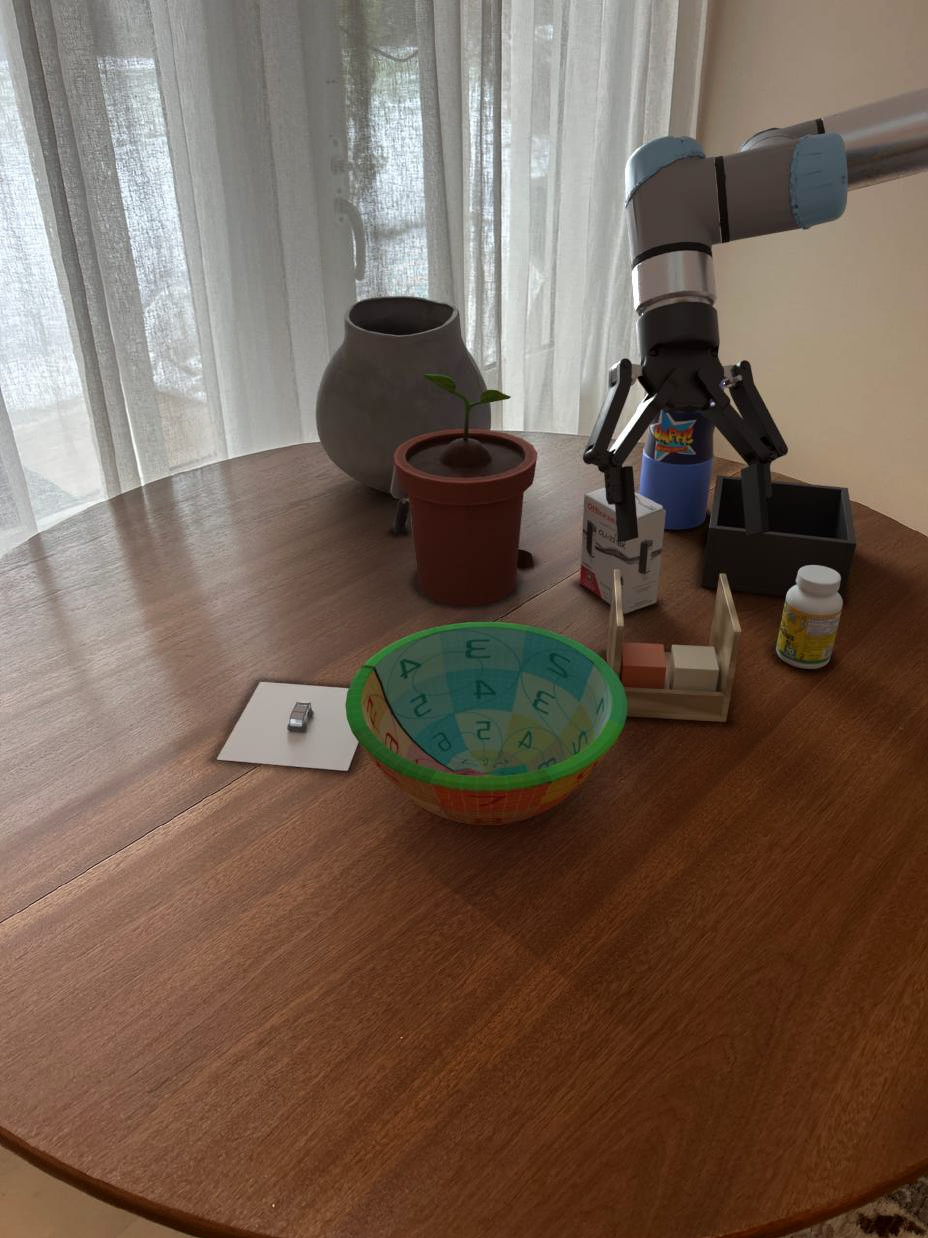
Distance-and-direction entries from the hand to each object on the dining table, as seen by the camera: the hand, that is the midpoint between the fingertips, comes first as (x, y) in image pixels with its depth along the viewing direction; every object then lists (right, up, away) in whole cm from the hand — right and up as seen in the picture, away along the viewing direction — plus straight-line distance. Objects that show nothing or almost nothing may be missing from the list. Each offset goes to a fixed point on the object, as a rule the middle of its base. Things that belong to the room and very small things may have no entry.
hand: (694, 537), depth 87 cm
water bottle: (+6, +6, +38) cm, 39 cm away
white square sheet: (-37, -18, 0) cm, 41 cm away
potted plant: (-22, -2, +26) cm, 34 cm away
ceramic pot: (-30, +12, +48) cm, 58 cm away
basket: (+16, -1, +26) cm, 30 cm away
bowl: (-20, -22, -8) cm, 31 cm away
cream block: (0, -15, +3) cm, 15 cm away
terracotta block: (-4, -14, +3) cm, 15 cm away
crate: (-2, -14, +5) cm, 15 cm away
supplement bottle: (+13, -12, +9) cm, 20 cm away
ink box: (-4, -5, +20) cm, 21 cm away
